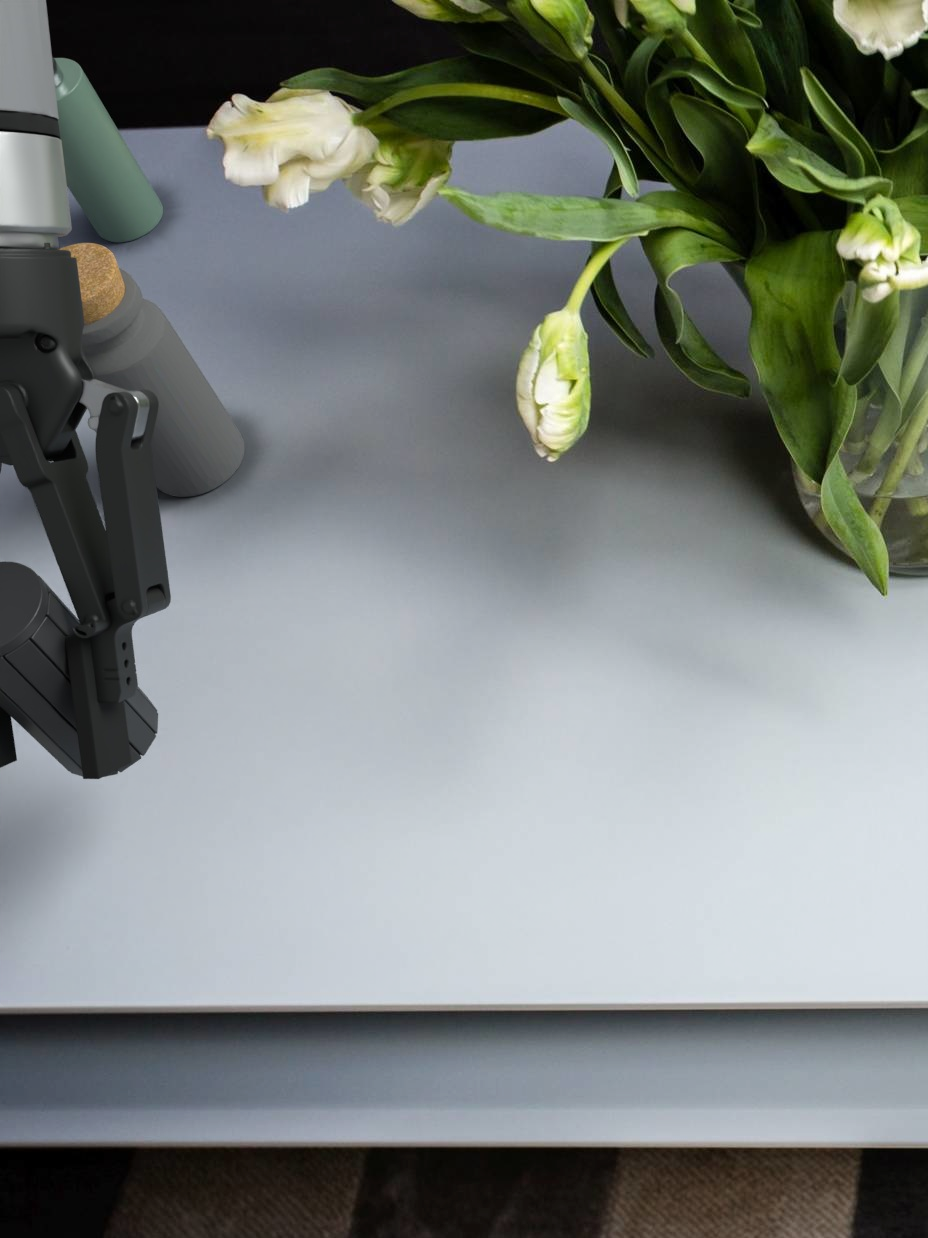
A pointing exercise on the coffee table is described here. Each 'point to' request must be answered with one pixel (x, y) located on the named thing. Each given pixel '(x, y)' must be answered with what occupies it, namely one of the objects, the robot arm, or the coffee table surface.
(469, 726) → the coffee table surface
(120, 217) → the spray can
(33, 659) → the dark grey grooved cylinder
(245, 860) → the coffee table surface
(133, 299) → the bottle
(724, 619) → the coffee table surface
